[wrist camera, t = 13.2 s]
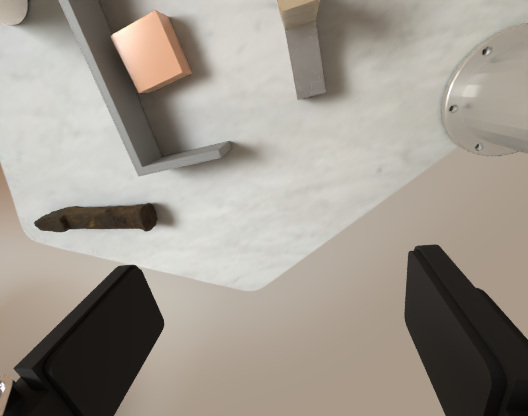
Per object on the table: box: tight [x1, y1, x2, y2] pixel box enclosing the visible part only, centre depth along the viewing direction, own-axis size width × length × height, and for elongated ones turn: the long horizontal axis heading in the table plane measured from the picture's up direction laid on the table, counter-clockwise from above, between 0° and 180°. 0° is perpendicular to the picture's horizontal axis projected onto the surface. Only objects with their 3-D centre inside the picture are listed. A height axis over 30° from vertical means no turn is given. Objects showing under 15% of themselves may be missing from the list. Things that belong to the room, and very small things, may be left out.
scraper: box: [277, 0, 326, 100], centre depth 23 cm, size 3×16×10 cm, turn 14°
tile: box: [110, 10, 192, 93], centre depth 29 cm, size 6×6×3 cm
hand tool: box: [34, 203, 157, 232], centre depth 39 cm, size 19×4×5 cm, turn 93°
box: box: [59, 0, 232, 176], centre depth 28 cm, size 11×24×5 cm, turn 14°
